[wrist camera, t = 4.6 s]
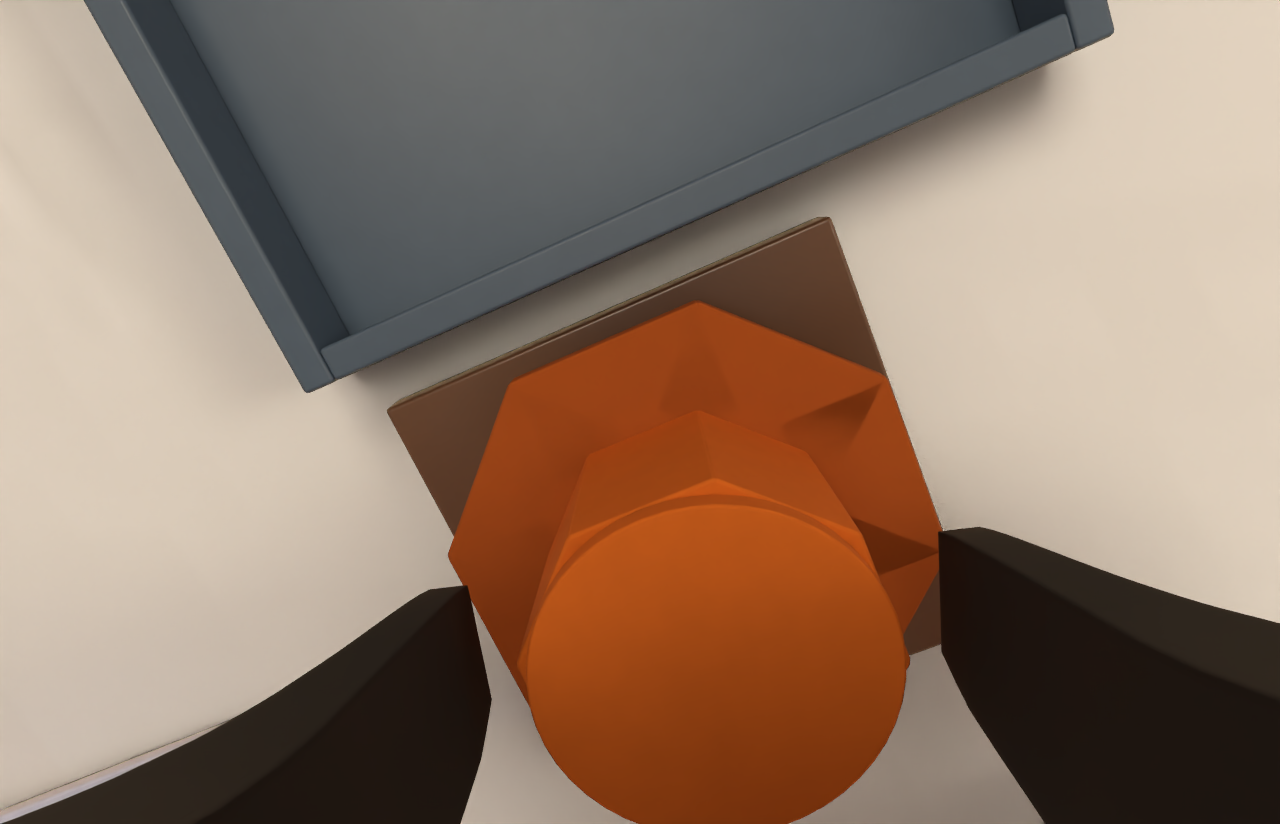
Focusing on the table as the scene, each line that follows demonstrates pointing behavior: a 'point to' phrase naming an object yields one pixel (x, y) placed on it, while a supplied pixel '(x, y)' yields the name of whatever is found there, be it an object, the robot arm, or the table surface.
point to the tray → (523, 132)
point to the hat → (702, 566)
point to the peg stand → (740, 284)
